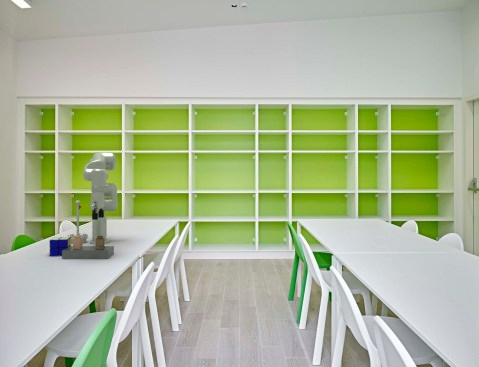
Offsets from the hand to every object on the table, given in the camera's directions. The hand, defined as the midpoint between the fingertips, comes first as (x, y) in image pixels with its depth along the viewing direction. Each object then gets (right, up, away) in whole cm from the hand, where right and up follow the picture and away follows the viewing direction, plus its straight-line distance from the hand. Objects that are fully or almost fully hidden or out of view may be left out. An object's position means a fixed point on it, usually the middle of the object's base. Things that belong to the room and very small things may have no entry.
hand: (98, 218), depth 209 cm
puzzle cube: (-25, -23, +6) cm, 34 cm away
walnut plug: (+1, -22, +1) cm, 22 cm away
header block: (-6, -23, +1) cm, 24 cm away
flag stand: (-31, -21, +40) cm, 55 cm away
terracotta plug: (-12, -22, +1) cm, 25 cm away
